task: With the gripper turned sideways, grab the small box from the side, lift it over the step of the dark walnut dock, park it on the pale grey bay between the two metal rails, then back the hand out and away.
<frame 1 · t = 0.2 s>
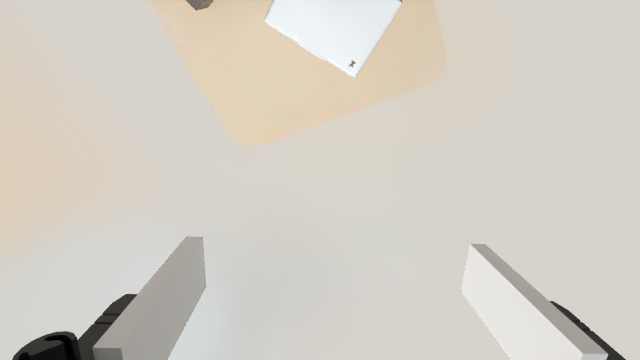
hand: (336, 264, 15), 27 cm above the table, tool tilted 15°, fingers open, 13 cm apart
small box: (326, 2, 33), on the table
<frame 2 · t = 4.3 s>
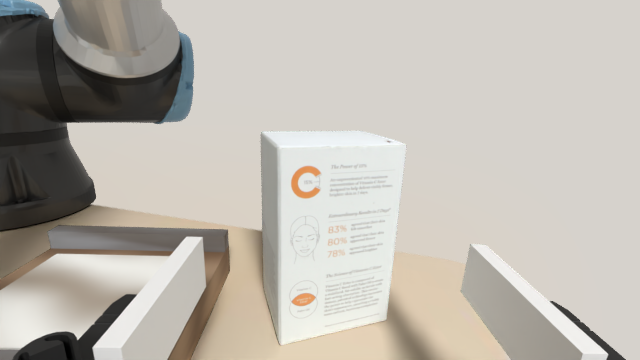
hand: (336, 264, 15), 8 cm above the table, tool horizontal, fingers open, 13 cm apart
dock: (97, 327, 21), on the table
small box: (320, 306, 24), on the table
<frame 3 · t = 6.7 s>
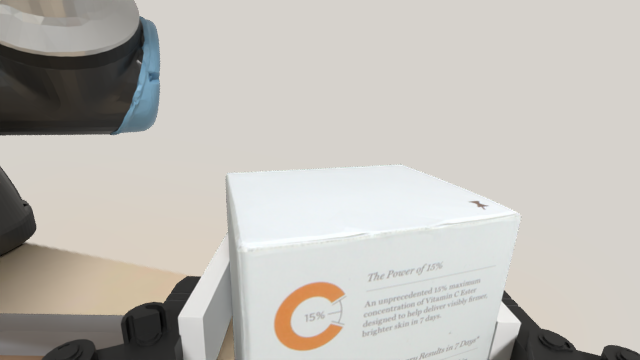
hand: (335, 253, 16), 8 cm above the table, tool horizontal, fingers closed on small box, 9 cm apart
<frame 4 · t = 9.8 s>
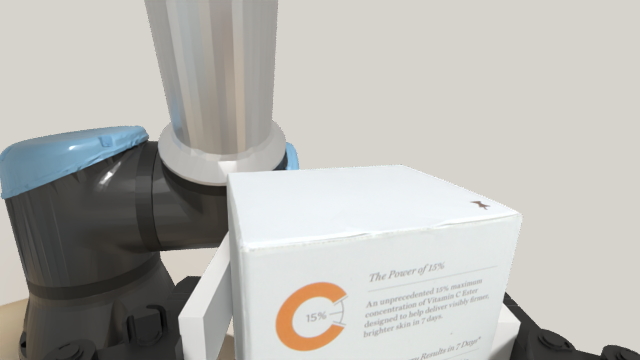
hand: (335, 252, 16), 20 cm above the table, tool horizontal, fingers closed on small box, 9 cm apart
when the fingers open (12 cm above the table, at t = 12.4 s): small box drops 1 cm, resting on dock.
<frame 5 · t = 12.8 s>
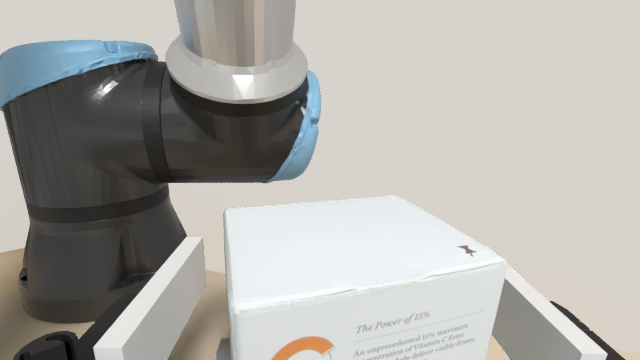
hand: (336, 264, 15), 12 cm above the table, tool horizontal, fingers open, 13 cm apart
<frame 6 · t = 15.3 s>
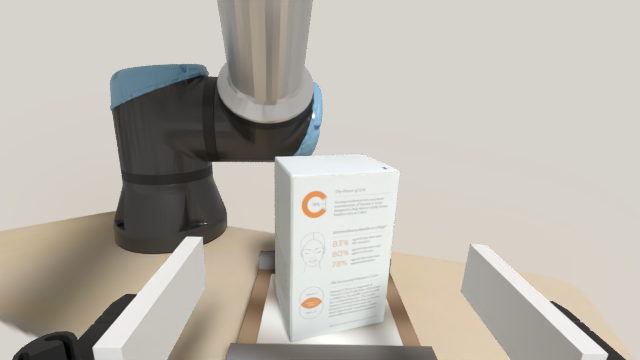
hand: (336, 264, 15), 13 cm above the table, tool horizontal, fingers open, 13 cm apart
dock: (325, 330, 28), on the table
small box: (325, 309, 27), point 3 cm above the table, touching dock
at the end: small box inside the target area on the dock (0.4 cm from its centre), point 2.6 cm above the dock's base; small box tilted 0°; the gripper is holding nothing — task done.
